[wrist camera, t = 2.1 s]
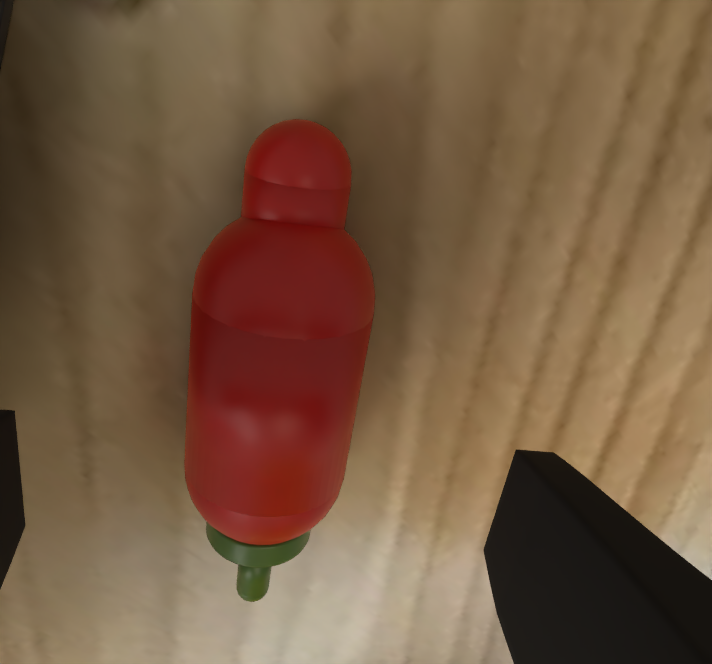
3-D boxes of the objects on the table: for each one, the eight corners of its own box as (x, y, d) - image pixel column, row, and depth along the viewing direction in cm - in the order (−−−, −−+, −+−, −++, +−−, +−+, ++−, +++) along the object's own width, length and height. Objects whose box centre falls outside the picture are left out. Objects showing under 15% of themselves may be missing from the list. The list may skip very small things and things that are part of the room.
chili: (319, 536, 16) (326, 650, 13) (189, 530, 15) (166, 646, 12) (390, 124, 12) (423, 157, 9) (212, 97, 11) (186, 123, 8)
